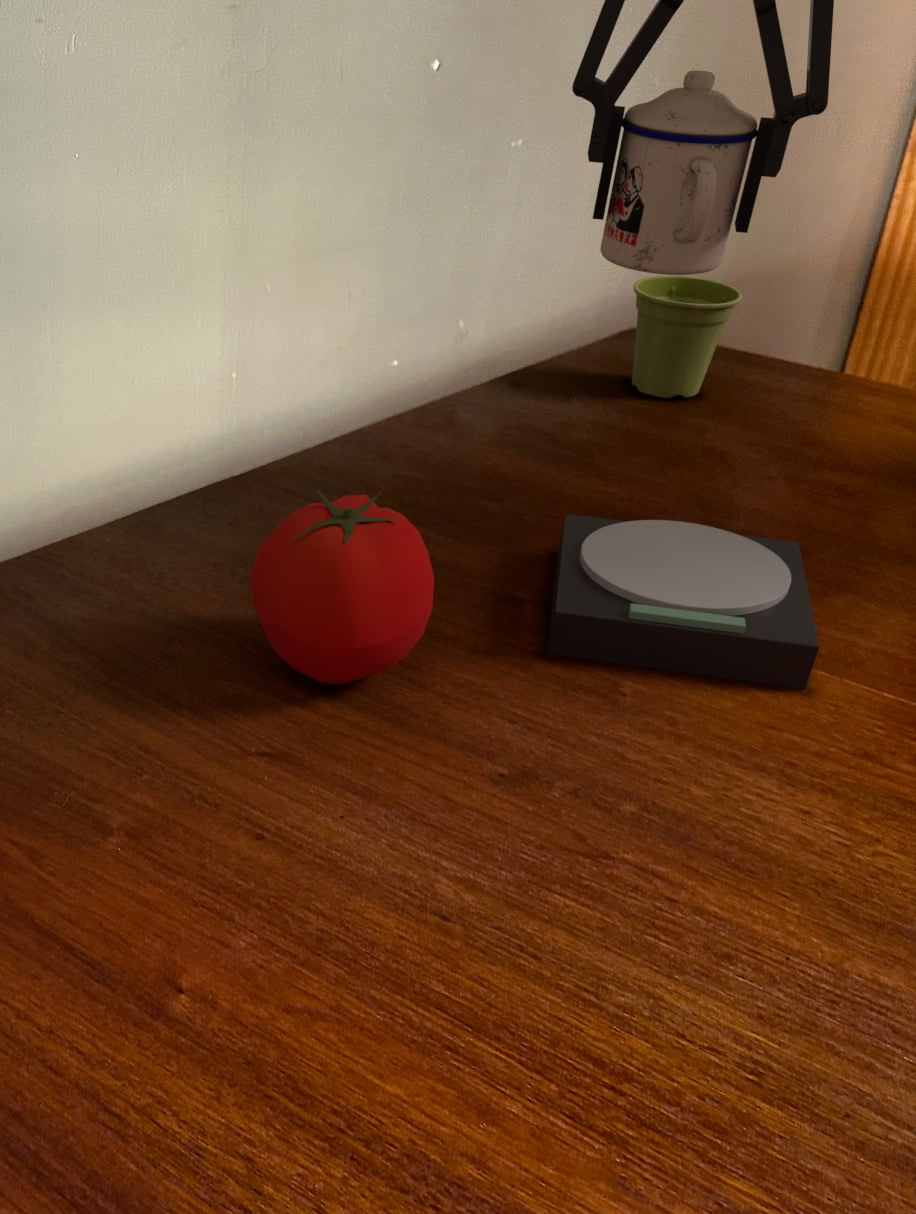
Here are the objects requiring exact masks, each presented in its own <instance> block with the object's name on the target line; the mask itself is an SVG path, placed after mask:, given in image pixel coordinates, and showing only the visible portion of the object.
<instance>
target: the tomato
mask: <svg viewBox="0 0 916 1214" xmlns="http://www.w3.org/2000/svg"><path fill="white" fill-rule="evenodd" d="M315 491H316V493H317V495H318V496H319V497H320V499H321V501H322V502H311V503H309V504H307V505H305V506H303V507H301V508H299V509H298V510H296V511H294V512H292V513H290V514H289V515H287V516H286V517H284V518H283V520H282V521H281V522H279V523H278V525H277V526H275V528H274V529H273V530H272V531H271V533H270V534H268V536H267V537H266V539H265V540H264V541H263V542H262V543H261V544H260V546H259V548H258V551H257V553H256V556H255V558H254V561H253V565H252V568H251V570H250V585H251V593H252V600H253V608H254V611H255V613H256V615H257V617H258V620H259V623H260V624H261V626H262V629H263V631H264V633H265V635H266V638H267V640H268V643H269V644H270V647H271V648H272V650H274V652H275V653H276V655H278V657H279V658H281V659H282V660H283V661H284V662H285V663H286V664H287V665H289V666H290V667H291V668H292V669H293V670H294V671H297V672H299V673H301V674H303V675H305V676H307V677H309V678H311V679H313V680H315V681H316V682H319V683H322V684H331V685H339V686H340V685H343V684H347V683H351V682H354V681H358V680H360V679H364V678H369V677H373V676H375V675H379V674H382V673H383V672H386V671H387V670H390V668H392V667H393V666H395V665H396V664H398V663H399V662H400V661H402V660H404V658H406V656H407V655H408V654H409V652H410V651H411V650H412V649H413V648H414V646H415V645H416V644H417V643H418V642H419V640H420V639H421V638H422V637H423V635H424V634H425V630H426V628H427V625H428V622H429V619H430V617H431V615H432V612H433V605H434V604H433V603H434V590H435V589H434V588H435V575H434V571H433V567H432V563H431V559H430V554H429V551H428V549H427V546H426V544H425V542H424V540H423V537H422V535H421V533H420V531H419V530H418V529H417V528H416V527H415V526H414V524H412V522H410V520H409V519H408V518H407V517H405V515H403V514H402V513H400V512H398V511H395V510H394V509H392V508H390V507H379V506H378V505H377V504H376V503H375V501H376V500H377V499H378V497H379V496H380V495H381V494H382V493H383V491H380V492H378V493H377V494H376V495H375V496H374V497H372V498H370V497H369V496H368V495H367V494H349V495H347V494H346V495H345V494H344V495H342V496H340V497H339V498H338V499H335V500H334V501H333V502H331V501H330V500H329V499H328V498H327V497H326V496H325V495H324V494H323V493H322V492H321V491H319V490H315Z"/></svg>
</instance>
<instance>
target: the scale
mask: <svg viewBox="0 0 916 1214" xmlns="http://www.w3.org/2000/svg"><path fill="white" fill-rule="evenodd" d="M556 554H557V555H556V564H555V573H554V582H553V591H552V599H551V610H550V617H549V628H548V634H547V635H548V636H547V647H546V654H547V655H551V656H552V655H553V656H560V657H564V658H565V657H566V658H574V659H580V660H581V659H582V660H588V661H595V662H601V663H609V664H616V665H624V666H631V667H638V668H645V669H646V668H647V669H652V670H661V671H667V672H675V673H680V674H687V675H689V674H690V675H695V676H696V675H697V676H703V677H710V678H718V679H725V680H732V681H740V682H747V683H754V684H759V685H769V686H776V687H781V688H782V687H783V688H789V689H798V690H806V687H807V685H808V682H809V678H810V676H811V673H812V670H813V668H814V665H815V663H816V659H817V656H818V653H819V650H820V643H819V638H818V632H817V628H816V623H815V618H814V613H813V608H812V604H811V599H810V594H809V589H808V584H807V579H806V574H805V569H804V564H803V559H802V555H801V554H802V553H801V549H800V544H799V542H798V541H791V540H783V539H775V538H766V537H758V536H750V535H743V534H738V533H735V532H732V531H728V530H725V529H722V528H718V527H714V526H709V525H705V524H699V523H693V522H687V521H679V520H667V519H640V520H630V521H629V520H628V521H627V520H620V519H613V518H612V519H611V518H603V517H595V516H588V515H587V516H586V515H580V514H579V515H578V514H571V513H565V515H564V519H563V524H562V530H561V534H560V539H559V544H558V548H557V553H556Z"/></svg>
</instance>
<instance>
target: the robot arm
mask: <svg viewBox="0 0 916 1214" xmlns="http://www.w3.org/2000/svg"><path fill="white" fill-rule="evenodd" d="M684 1H685V0H658V1H657V2H656V4H655V5H654V7H653V8H652V9H651V11H650V13H649V14H648V16H647V17H646V19H645V20H644V22H643V24H642V25H641V27H640V28H639V29H638V31H637V33H636V34H635V36H634V37H633V39H632V41H631V42H630V43H629V45H628V46H627V48H626V50H625V51H624V52H623V54H622V55H621V57H620V59H619V60H618V62H617V63H616V65H615V66H614V68H613V69H612V70H611V73H610V74H609V76H608V77H607V79H606V80H605V81H604V80H602V79H600V78H598V77H596V76H597V73H598V70H599V68H600V65H601V62H602V61H603V57H604V55H605V52H606V51H607V48H608V45H609V43H610V39H611V38H612V35H613V33H614V30H615V27H616V24H617V22H618V20H619V17H620V15H621V12H622V10H623V7H624V5H625V2H626V0H604V2H603V5H602V7H601V9H600V12H599V15H598V17H597V20H596V22H595V25H594V28H593V31H592V33H591V36H590V38H589V41H588V43H587V46H586V48H585V51H584V53H583V56H582V59H581V61H580V64H579V67H578V69H577V71H576V73H575V74H576V75H575V78H574V80H573V82H572V87H571V88H572V93H573V94H574V96H576V97H577V98H581V99H583V100H586V101H587V102H589V103H591V105H592V106H593V109H594V115H593V116H594V117H593V122H592V127H591V132H590V139H589V144H588V149H587V158H588V162H589V163H597V164H600V163H601V164H602V167H601V171H600V177H599V181H598V182H599V183H598V187H597V192H596V198H595V202H594V208H593V214H592V218H591V219H592V220H602V221H603V220H604V218H605V213H606V208H607V204H608V198H609V193H610V186H611V182H612V177H613V172H614V166H615V161H616V156H617V151H618V145H619V141H620V136H621V130H622V121H623V118H624V117H625V110H626V106H621V105H616V103H617V101H618V100H619V99H620V97H621V96H622V94H623V92H624V91H625V89H626V88H627V86H628V85H629V83H630V82H631V80H632V79H633V78H634V76H635V74H636V73H637V71H638V70H639V68H640V67H641V65H642V64H643V62H644V60H645V59H646V57H647V56H648V55H649V53H650V52H651V50H652V49H653V47H654V46H655V44H656V43H657V41H658V40H659V38H660V36H661V35H662V33H663V32H664V30H665V29H666V27H667V26H668V25H669V24H670V21H671V20H672V19H673V17H674V15H675V14H676V12H677V11H678V10H679V9H680V7H681V6H682V4H683V3H684ZM752 5H753V9H754V14H755V19H756V24H757V25H756V26H757V29H758V30H757V31H758V34H759V40H760V45H761V51H762V55H763V60H764V65H765V69H766V75H767V80H768V84H769V85H768V86H769V90H770V95H771V100H772V105H773V110H774V111H773V116H772V117H766V116H765V117H763V116H762V117H760V120H759V124H758V127H757V131H758V133H757V136H756V137H755V140H754V144H753V147H752V152H751V156H750V160H749V164H748V168H747V172H746V177H745V180H744V184H743V188H742V192H741V196H740V199H739V204H738V208H737V212H736V215H735V219H734V228H735V233H741V234H742V233H744V234H748V232H749V227H750V224H751V219H752V215H753V212H754V208H755V204H756V201H757V196H758V193H759V188H760V185H761V182H762V181H761V180H762V177H766V178H767V177H768V178H776V177H777V176H778V175H779V173H780V171H781V169H782V166H783V162H784V159H785V155H786V150H787V147H788V143H789V140H790V139H789V138H790V135H791V132H792V128H793V126H794V125H795V123H797V121H800V120H801V119H803V118H806V117H810V116H813V115H814V116H818V115H821V114H822V113H824V112H825V110H826V109H827V108H828V104H829V90H830V74H831V73H830V72H831V57H832V41H833V40H832V38H833V24H834V23H833V22H834V9H835V8H834V6H835V0H810V3H809V20H808V21H809V22H808V23H809V24H808V41H807V42H808V43H807V58H806V59H807V61H806V80H805V81H806V82H805V92H802V93H798V94H795V95H794V92H793V87H792V81H791V76H790V71H789V65H788V62H787V56H786V49H785V45H784V40H783V36H782V35H783V34H782V29H781V24H780V20H779V19H780V18H779V14H778V8H777V2H776V0H752Z"/></svg>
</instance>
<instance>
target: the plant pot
mask: <svg viewBox="0 0 916 1214" xmlns="http://www.w3.org/2000/svg"><path fill="white" fill-rule="evenodd" d="M633 292H634V293H635V295H636V297H635V298H636V299H635V307H636V310H637V317H636V319H637V320H636V331H635V343H634V353H633V354H634V355H633V365H632V374H631V375H632V376H631V377H632V378H631V385H632V386H633V387H636V388H637V390H638V392H640V393H641V394H644V395H648V396H652V397H653V396H654V397H657V398H661V399H671V398H673V397H676V396H681V397H683V398H685V399H687V398H691V397H694V396H696V395H697V394H699V392H700V390H701V387H702V385H703V382H704V379H705V377H706V374H707V371H708V369H709V366H710V364H711V361H712V358H713V356H714V353H715V350H716V348H717V345H718V343H719V341H720V337H721V335H722V332H723V330H724V328H725V325H726V322H727V321H728V320H729V319H730V317H731V315H732V313H733V311H734V309H735V306H737V305H738V304H739V303H740V302H741V301H742V298H743V294H742V292H741V291H740V290H739V289H737V288H736V287H734V286H732V285H728V284H726V283H725V282H720V281H717V280H713V279H707V278H702V277H694V276H687V275H657V276H649V277H644V278H641V279H639V280H638V279H637V281H635V282H634V283H633Z"/></svg>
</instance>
